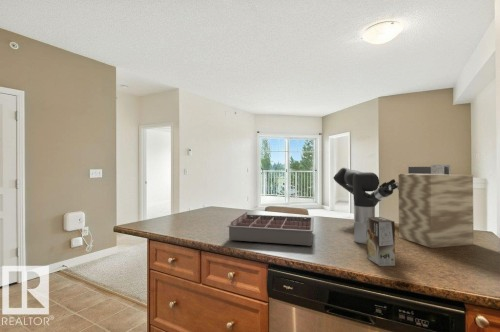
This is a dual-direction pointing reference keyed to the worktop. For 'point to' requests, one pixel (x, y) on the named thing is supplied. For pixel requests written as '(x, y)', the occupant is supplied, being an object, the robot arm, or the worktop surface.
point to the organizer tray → (272, 229)
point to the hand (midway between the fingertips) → (400, 180)
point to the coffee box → (380, 241)
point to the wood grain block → (436, 209)
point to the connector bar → (430, 169)
